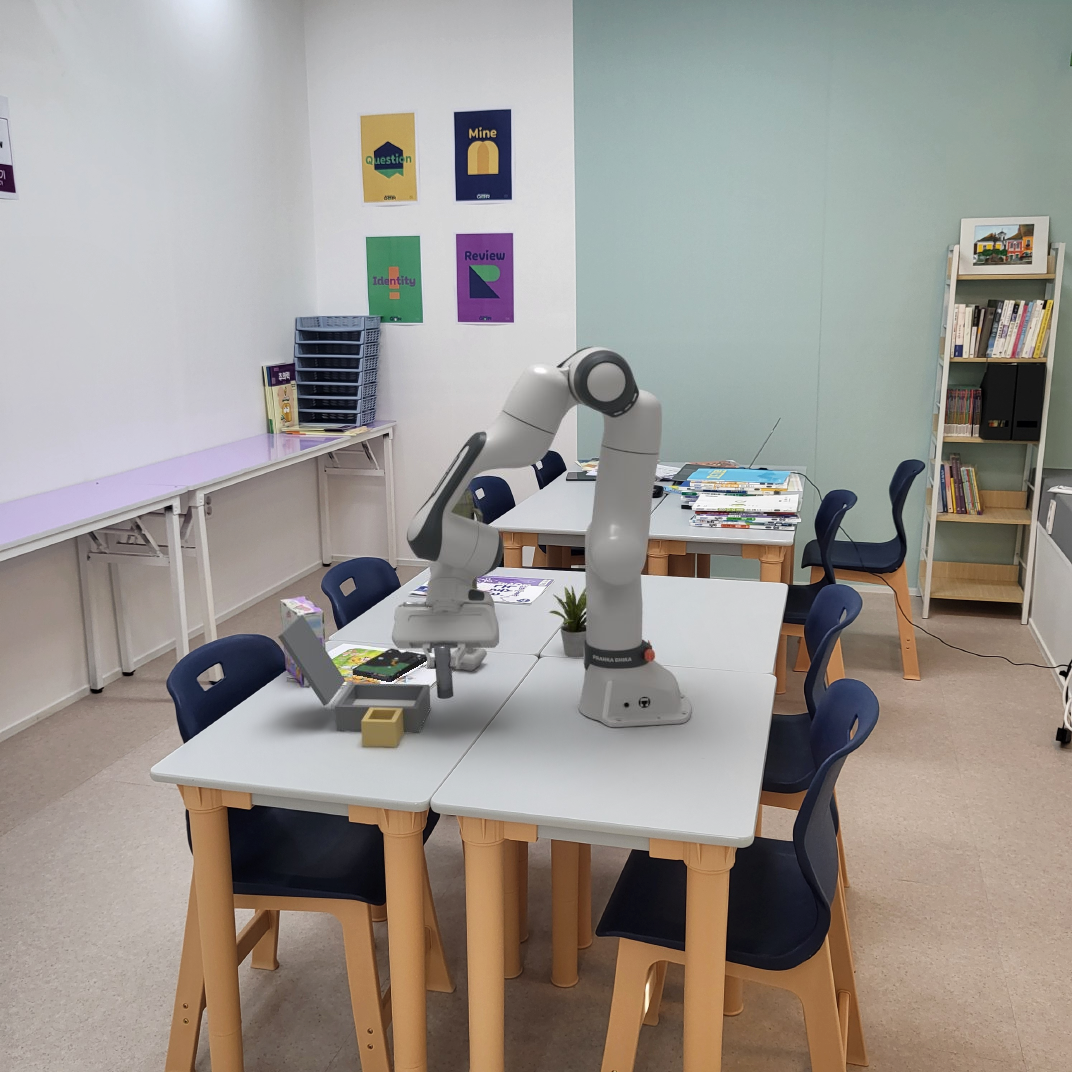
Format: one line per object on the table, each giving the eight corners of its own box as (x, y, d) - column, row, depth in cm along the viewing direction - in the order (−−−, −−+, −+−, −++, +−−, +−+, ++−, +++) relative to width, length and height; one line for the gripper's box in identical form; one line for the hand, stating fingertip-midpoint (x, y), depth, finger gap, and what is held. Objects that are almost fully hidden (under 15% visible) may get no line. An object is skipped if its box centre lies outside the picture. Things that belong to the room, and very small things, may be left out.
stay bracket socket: (404, 732, 189) (402, 708, 188) (396, 747, 183) (395, 722, 182) (371, 731, 190) (369, 707, 189) (362, 746, 184) (361, 721, 182)
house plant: (597, 669, 220) (597, 599, 217) (538, 662, 225) (537, 593, 221) (613, 648, 233) (613, 581, 230) (557, 642, 238) (556, 577, 234)
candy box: (329, 683, 214) (324, 610, 211) (302, 688, 212) (297, 615, 208) (309, 663, 226) (305, 594, 222) (284, 668, 223) (279, 598, 220)
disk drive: (390, 659, 230) (352, 680, 217) (390, 647, 229) (351, 668, 216) (428, 665, 226) (391, 687, 213) (428, 654, 225) (390, 675, 212)
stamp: (472, 676, 217) (471, 640, 215) (445, 672, 220) (444, 636, 218) (489, 662, 225) (488, 627, 223) (463, 659, 228) (462, 624, 226)
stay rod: (454, 692, 187) (451, 642, 185) (451, 698, 184) (448, 648, 182) (439, 692, 187) (435, 642, 185) (436, 698, 184) (432, 648, 182)
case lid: (302, 614, 198) (298, 617, 199) (282, 634, 187) (277, 636, 187) (345, 680, 201) (341, 682, 201) (328, 703, 189) (323, 706, 189)
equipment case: (430, 707, 201) (429, 681, 199) (418, 732, 189) (417, 705, 188) (348, 705, 202) (347, 680, 201) (331, 730, 190) (330, 703, 189)
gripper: (392, 594, 189) (384, 661, 182) (498, 593, 187) (494, 660, 180) (399, 609, 195) (391, 674, 187) (502, 608, 193) (498, 674, 185)
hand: (442, 667), depth 184 cm, fingers closed on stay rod, 3 cm apart
